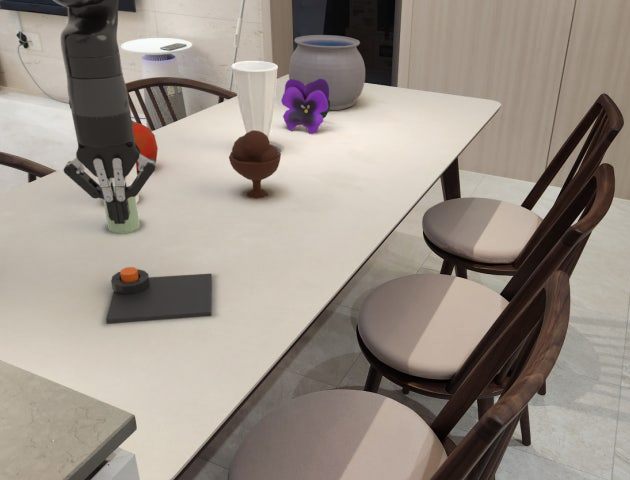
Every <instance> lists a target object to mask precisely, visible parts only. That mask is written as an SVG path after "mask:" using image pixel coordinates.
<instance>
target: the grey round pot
mask: <svg viewBox="0 0 630 480" xmlns="http://www.w3.org/2000/svg"><path fill="white" fill-rule="evenodd" d="M294 43H296V44H297V46H296V48H295V49H294V50H293V53H292V54H291V56H290V60H289V65H288V80H290V79H294V80H298V81H300V82H302V83H303V84H304V85H305V86H306V85H307V84H308V83H311V82H314V81H316V80H318V79H324V80H325V81H326V82H327V83H328V86H329V99H328V100H329V101H330V108H329V111H341V110H346V109H349V108H351V107H353V106H354V105H355V104H356V102H355V101H356V100H357V99H359V97H360V96H361V94H362V92H363V89H364V86H365V82H366V66H365V62H364V59H363V58H364V57H362V54H361V53H360V51H359V50H358V48H357V47H358V46H359V45H360V44H361V42H360V40H358V39H355V38H354V37H353V38H352V37H348V36H342V35H330V34H329V35H327V34H313V35H302V36H297V37H295V38H294Z"/></svg>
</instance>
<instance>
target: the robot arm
mask: <svg viewBox="0 0 630 480" xmlns="http://www.w3.org/2000/svg"><path fill="white" fill-rule="evenodd" d="M52 1H53V2H54V3H56V4H58V5H60V6H61V7H65V8H67V23H66V25H65V27H64V28H63V30H61V33H60V40H59V41H60V50H61V54H62V59H63V65H64V70H65V75H66V82H67V96H68V104H69V109H70V110H71V117H72V122H73V126H74V131H75V137H76V142H77V149H76V152H75V158H73V159H72V160H69V161H67V163H66V164H65V166H64V168H63V173H64V174H65V175H66V176H67V177H68V178H70V180H72V181H73V182H74V183H76V185H77V186H78V187H80V188H81V189H82V190H83V191H84V192H85V193H86V194H87V195H89V196H90V197H91V198H92V199H95V200H97V199H102V200H103V199H104V200H105V201H106V204H107V209H108V215H109V218H110V220H111V221H114V223H115V224H125V223H126V220H128V219H129V215H130V210H129V203H128V198H130V197H135V196H137V194H138V195H139V193H140V191H142V189H143V188H144V186H145V184H146V183H147V182H148V180H149V178H151V177H152V175H153V173H154V171H155V169H156V166H157V160H156V161H155V160H154V159H148V158H146V157H145V156H143V155H141V154H140V149H139V147H138V146H137V145H136V143H135V139H134V133H133V126H132V123H133V120H132V114H131V106H130V100H129V93H128V89H127V85H126V82H125V81H126V80H125V78H124V74H123V67H122V61H121V60H122V59H121V53H120V48H119V44H118V25H119V0H52ZM136 162H138V163H139V166H138V170H139V171H138V172H139V173H137V177H136V179H135V180H134V181H133V183H132V184H131V186H128V187H127V183H126V179H127V177H126V176H127V175H128V174H129V173H130V171H131V170H132V168H133V167H134V165H135V163H136ZM85 168H86V169H87V170H88V171H89V172H90V173H91V174H92V175H93V176H94V177H96V178H97V181H98V180H99V181H98V182H97V181H96V180H95V179H93V177H91V176H90V175H89V174H88V173H87V172H86V171H85ZM112 178H114V181H115V187H116V195H115V189H114V185H113V181H112Z"/></svg>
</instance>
